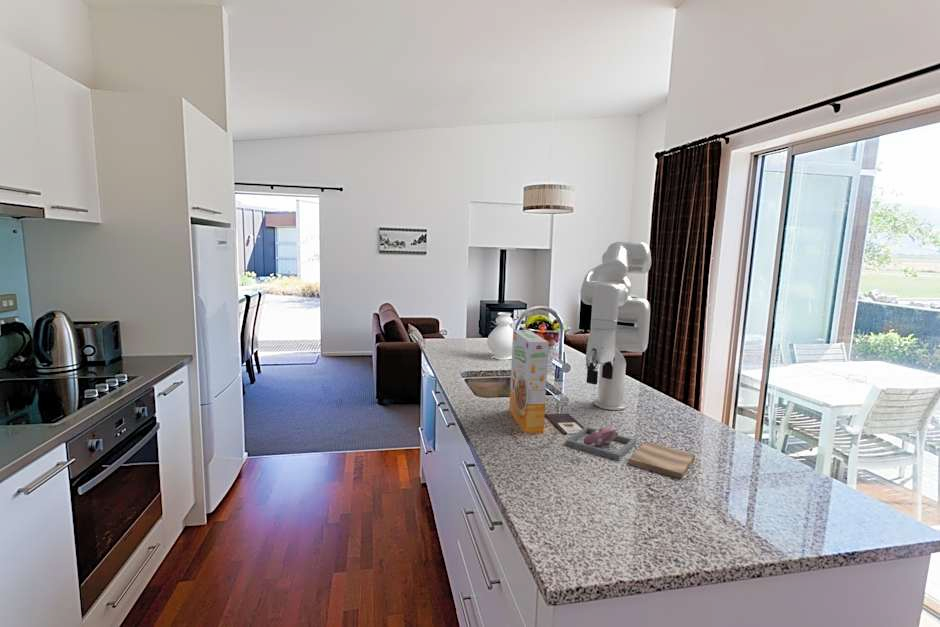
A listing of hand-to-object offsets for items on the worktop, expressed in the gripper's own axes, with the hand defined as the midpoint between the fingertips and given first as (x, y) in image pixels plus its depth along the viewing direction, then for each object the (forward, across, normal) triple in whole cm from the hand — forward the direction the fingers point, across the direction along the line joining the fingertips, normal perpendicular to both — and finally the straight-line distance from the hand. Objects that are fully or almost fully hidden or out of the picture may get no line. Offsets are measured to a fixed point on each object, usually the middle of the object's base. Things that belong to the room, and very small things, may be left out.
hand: (599, 380), depth 143 cm
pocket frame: (+20, -2, +1) cm, 20 cm away
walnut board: (+20, -3, +19) cm, 28 cm away
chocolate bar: (+20, -9, -16) cm, 27 cm away
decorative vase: (+19, -74, -94) cm, 121 cm away
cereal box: (+20, -1, -27) cm, 33 cm away
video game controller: (+20, -2, +1) cm, 20 cm away
